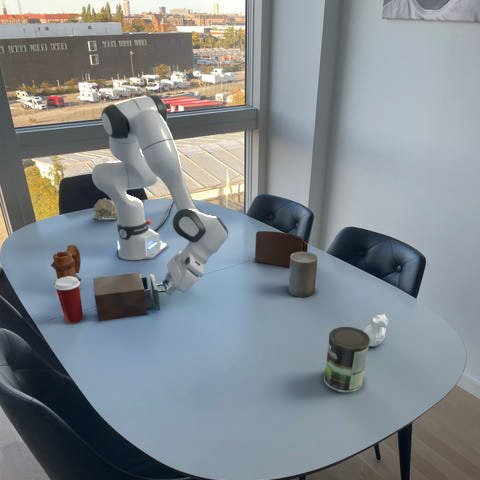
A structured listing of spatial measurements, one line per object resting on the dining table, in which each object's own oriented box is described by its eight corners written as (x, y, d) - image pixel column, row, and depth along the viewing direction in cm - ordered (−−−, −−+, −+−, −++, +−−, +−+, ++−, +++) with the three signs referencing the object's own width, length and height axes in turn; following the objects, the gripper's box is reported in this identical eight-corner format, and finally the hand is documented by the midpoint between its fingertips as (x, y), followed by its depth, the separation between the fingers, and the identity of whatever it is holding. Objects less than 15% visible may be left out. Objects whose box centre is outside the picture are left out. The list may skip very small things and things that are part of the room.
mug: (73, 297, 167) (65, 258, 159) (52, 294, 168) (43, 256, 161) (92, 279, 179) (85, 242, 171) (72, 277, 181) (65, 241, 173)
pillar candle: (317, 288, 173) (321, 250, 166) (309, 299, 166) (313, 260, 158) (293, 283, 177) (295, 246, 169) (284, 294, 169) (286, 255, 162)
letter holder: (300, 269, 188) (303, 236, 181) (254, 262, 194) (255, 229, 187) (306, 260, 196) (309, 228, 189) (262, 253, 202) (263, 222, 195)
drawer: (167, 292, 168) (165, 272, 164) (173, 308, 158) (171, 287, 154) (113, 299, 164) (110, 278, 160) (116, 316, 153) (113, 295, 150)
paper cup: (91, 315, 155) (84, 277, 148) (77, 326, 149) (69, 287, 142) (71, 311, 158) (63, 274, 150) (56, 322, 151) (47, 284, 144)
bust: (359, 356, 139) (384, 341, 130) (344, 335, 141) (368, 319, 132) (382, 342, 146) (407, 326, 137) (368, 322, 148) (391, 305, 139)
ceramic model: (90, 219, 240) (86, 200, 235) (99, 213, 249) (96, 194, 244) (116, 221, 238) (113, 202, 233) (124, 214, 247) (121, 195, 242)
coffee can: (329, 394, 121) (334, 349, 114) (319, 370, 130) (324, 327, 123) (367, 392, 122) (375, 347, 114) (356, 368, 131) (362, 325, 123)
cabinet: (142, 296, 167) (139, 272, 162) (147, 315, 156) (144, 289, 151) (97, 302, 163) (93, 277, 158) (99, 321, 152) (94, 295, 147)
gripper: (179, 242, 165) (154, 271, 167) (190, 265, 148) (162, 296, 150) (192, 253, 168) (167, 280, 171) (205, 276, 151) (177, 306, 154)
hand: (165, 288), depth 160 cm, fingers closed on drawer, 6 cm apart
